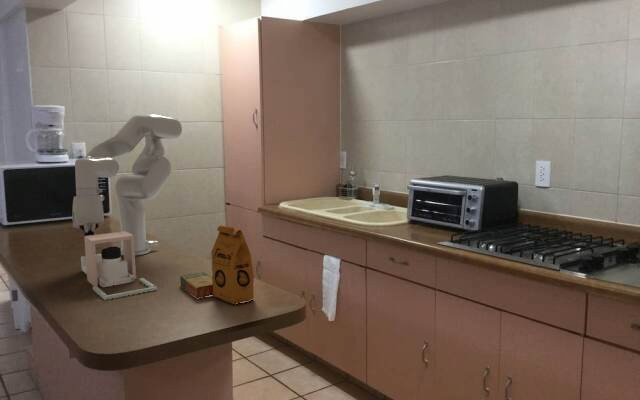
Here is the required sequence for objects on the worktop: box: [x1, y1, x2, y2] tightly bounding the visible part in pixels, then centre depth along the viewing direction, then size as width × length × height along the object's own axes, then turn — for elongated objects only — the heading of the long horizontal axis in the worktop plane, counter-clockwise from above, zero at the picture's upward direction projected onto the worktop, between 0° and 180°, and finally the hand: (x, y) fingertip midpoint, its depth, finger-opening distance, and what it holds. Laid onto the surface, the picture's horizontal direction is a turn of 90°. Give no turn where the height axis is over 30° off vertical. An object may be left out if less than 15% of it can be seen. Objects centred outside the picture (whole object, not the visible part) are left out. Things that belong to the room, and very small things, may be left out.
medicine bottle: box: [96, 246, 128, 281], centre depth 187 cm, size 7×7×12 cm
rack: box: [80, 253, 135, 288], centre depth 194 cm, size 10×26×5 cm, turn 36°
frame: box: [92, 277, 158, 301], centre depth 179 cm, size 16×13×1 cm
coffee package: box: [210, 225, 255, 305], centre depth 167 cm, size 10×12×22 cm
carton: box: [179, 271, 213, 299], centre depth 177 cm, size 8×16×4 cm, turn 31°
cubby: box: [83, 231, 137, 287], centre depth 189 cm, size 14×9×15 cm, turn 126°
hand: (89, 242), depth 207 cm, fingers closed
